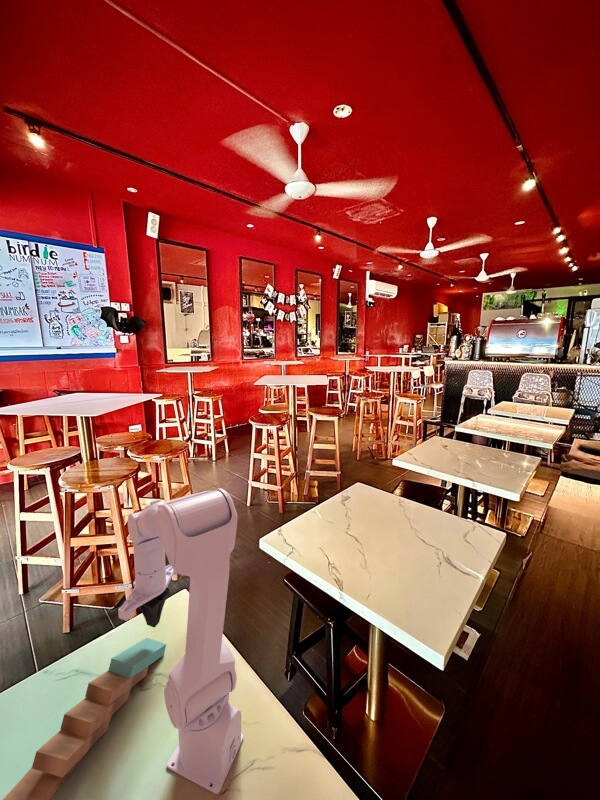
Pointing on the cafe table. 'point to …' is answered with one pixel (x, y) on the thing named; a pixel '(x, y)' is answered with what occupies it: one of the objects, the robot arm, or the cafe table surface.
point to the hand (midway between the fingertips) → (153, 623)
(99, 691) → the domino
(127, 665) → the domino
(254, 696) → the cafe table surface
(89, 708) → the domino
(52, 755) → the domino
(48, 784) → the domino
